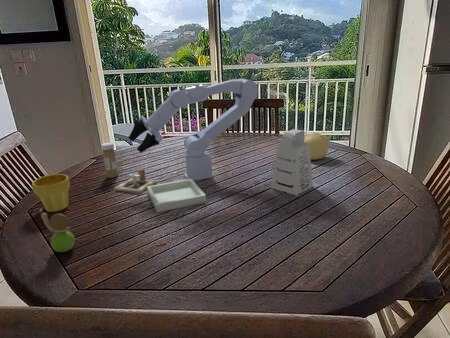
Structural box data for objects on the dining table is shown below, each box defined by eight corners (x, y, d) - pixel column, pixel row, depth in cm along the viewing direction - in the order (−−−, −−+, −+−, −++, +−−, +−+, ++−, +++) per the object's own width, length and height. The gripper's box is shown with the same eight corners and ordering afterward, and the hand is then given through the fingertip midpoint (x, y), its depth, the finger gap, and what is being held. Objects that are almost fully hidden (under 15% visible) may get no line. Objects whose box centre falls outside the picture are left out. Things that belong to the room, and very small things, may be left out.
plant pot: (38, 218, 102) (31, 188, 99) (39, 205, 111) (32, 177, 107) (75, 210, 107) (69, 181, 103) (72, 198, 115) (67, 171, 112)
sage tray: (191, 184, 122) (191, 178, 121) (206, 202, 108) (205, 195, 107) (147, 193, 117) (146, 186, 116) (156, 212, 103) (156, 205, 102)
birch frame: (138, 194, 116) (137, 180, 115) (114, 190, 120) (112, 177, 118) (155, 182, 125) (154, 170, 124) (132, 179, 129) (131, 167, 127)
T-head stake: (129, 186, 123) (127, 175, 121) (132, 184, 124) (130, 173, 123) (139, 188, 121) (137, 176, 120) (142, 186, 123) (140, 174, 121)
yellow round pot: (331, 155, 148) (332, 131, 144) (322, 163, 138) (324, 138, 135) (306, 152, 154) (307, 129, 150) (296, 159, 144) (297, 135, 141)
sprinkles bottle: (119, 176, 133) (114, 143, 128) (108, 179, 130) (102, 146, 126) (116, 173, 136) (111, 141, 132) (105, 175, 134) (99, 143, 129)
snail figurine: (54, 245, 88) (43, 204, 83) (79, 243, 88) (70, 202, 84) (45, 257, 82) (34, 214, 78) (72, 255, 83) (62, 212, 79)
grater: (312, 186, 117) (316, 130, 110) (296, 196, 110) (299, 137, 103) (287, 179, 124) (289, 126, 117) (270, 188, 117) (271, 132, 110)
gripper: (144, 101, 119) (119, 129, 120) (163, 121, 111) (135, 151, 112) (156, 112, 125) (132, 138, 126) (175, 131, 117) (148, 160, 117)
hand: (134, 145), depth 119 cm, fingers open, 7 cm apart
